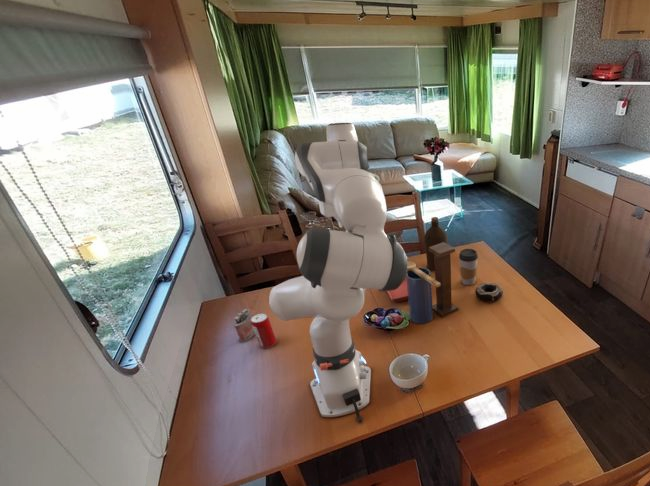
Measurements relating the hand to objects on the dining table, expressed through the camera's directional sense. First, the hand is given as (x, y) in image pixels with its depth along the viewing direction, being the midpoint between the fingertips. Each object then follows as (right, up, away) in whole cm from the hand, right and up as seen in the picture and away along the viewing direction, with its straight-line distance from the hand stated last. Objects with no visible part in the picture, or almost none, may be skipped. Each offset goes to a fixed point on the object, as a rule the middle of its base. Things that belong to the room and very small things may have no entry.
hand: (356, 222), depth 122 cm
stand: (+26, -30, +34) cm, 52 cm away
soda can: (-36, -41, +16) cm, 57 cm away
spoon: (+19, -16, +18) cm, 30 cm away
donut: (+45, -25, +42) cm, 66 cm away
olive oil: (+21, -11, +64) cm, 68 cm away
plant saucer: (+9, -22, +46) cm, 52 cm away
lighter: (-46, -39, +20) cm, 63 cm away
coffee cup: (+36, -18, +52) cm, 66 cm away
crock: (+18, -32, +29) cm, 47 cm away
